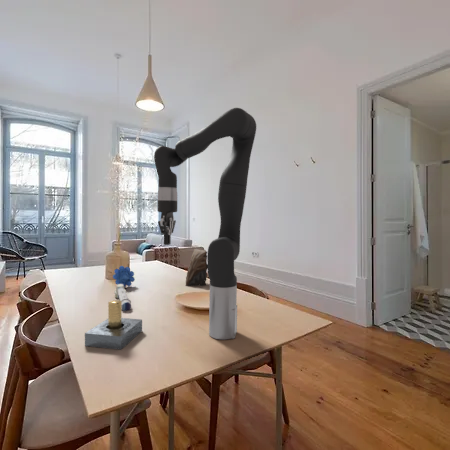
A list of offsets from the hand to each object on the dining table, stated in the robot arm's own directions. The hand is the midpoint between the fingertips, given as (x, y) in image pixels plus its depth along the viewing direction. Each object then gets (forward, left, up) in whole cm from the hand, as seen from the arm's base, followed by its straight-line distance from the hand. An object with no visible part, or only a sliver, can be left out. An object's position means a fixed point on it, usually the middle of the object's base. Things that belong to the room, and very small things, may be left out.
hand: (167, 244), depth 110 cm
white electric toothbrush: (+27, -15, -30) cm, 43 cm away
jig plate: (+10, +20, -29) cm, 37 cm away
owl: (+4, -55, -29) cm, 62 cm away
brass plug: (+10, +20, -29) cm, 37 cm away
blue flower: (+39, -38, -29) cm, 62 cm away
